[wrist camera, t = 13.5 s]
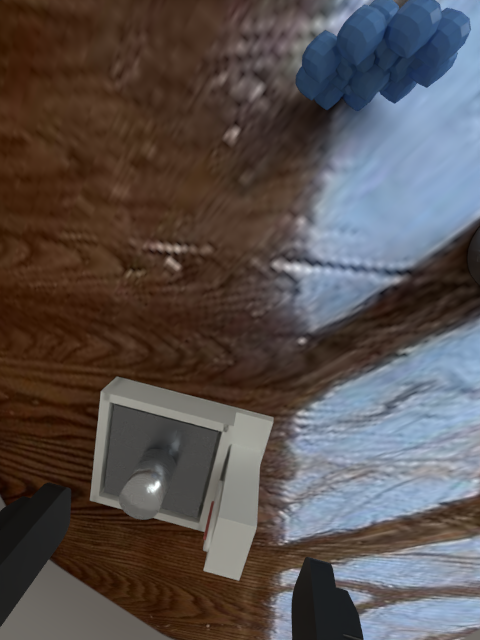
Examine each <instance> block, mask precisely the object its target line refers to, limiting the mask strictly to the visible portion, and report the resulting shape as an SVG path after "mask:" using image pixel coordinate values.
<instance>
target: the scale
mask: <svg viewBox="0 0 480 640" xmlns="http://www.w3.org/2000/svg"><path fill="white" fill-rule="evenodd" d="M114 404H119V405H123V406H127V407H130V408H134V409H138V410H142V411H146V412H149V413H153V414H157V415H161V416H165V417H168V418H172V419H176V420H180V421H184V422H187V423H191V424H195V425H199V426H203V427H206V428H210V429H214V430H218V435H217V439H216V443H215V447H214V451H213V455H212V459H211V463H210V467H209V471H208V475H207V479H206V483H205V487H204V491H203V495H202V499H201V504H200V508H199V512H198V515H197V518H196V517H192V516H189V515H185V514H181V513H178V512H174V511H170V510H167V509H163V508H160V509H159V512H158V513H157V515H156V516H154V517H153V518H156V519H160V520H163V521H167V522H170V523H174V524H178V525H181V526H185V527H189V528H192V529H196V530H200V531H203V532H205V533H204V538H203V540H205V541H204V546H203V551H207V556H206V561H205V566H204V571H207V572H210V573H214V574H217V575H221V576H224V577H228V578H232V579H235V580H239V579H240V576H241V573H242V570H243V567H244V564H245V561H246V558H247V555H248V552H249V549H250V546H251V543H252V540H253V537H254V534H255V531H256V528H257V512H258V491H259V471H260V463H261V460H262V457H263V454H264V451H265V447H266V444H267V441H268V438H269V434H270V431H271V428H272V425H273V417H271V416H267V415H263V414H259V413H255V412H251V411H248V410H244V409H240V408H236V407H232V406H228V405H225V404H221V403H217V402H213V401H209V400H205V399H201V398H198V397H194V396H190V395H186V394H182V393H178V392H175V391H171V390H167V389H163V388H159V387H155V386H152V385H148V384H144V383H140V382H136V381H132V380H129V379H125V378H121V377H116V378H115V379H114V380H113V381H112V382H110V383H109V384H108V385H107V386H106V387H105V388H104V389H103V390H102V391H101V396H100V406H99V416H98V425H97V435H96V445H95V455H94V465H93V475H92V485H91V494H90V501H94V502H98V503H101V504H105V505H109V506H112V507H116V508H119V509H122V508H121V506H120V504H119V496H115V495H112V494H108V493H104V486H105V478H106V469H107V461H108V453H109V444H110V436H111V427H112V419H113V410H114Z"/></svg>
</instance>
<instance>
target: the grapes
mask: <svg viewBox="0 0 480 640" xmlns="http://www.w3.org/2000/svg"><path fill="white" fill-rule="evenodd" d="M470 30H471V26H470V20H469V18H468V17H467V16H466V15H465V14H464V13H462V12H461V11H457V10H454V9H450V8H446V9H444V10H443V11H442V12H441V7H440V4H439V3H438V2H437V1H435V0H408V1H407V2H406V3H405V4H404V5H403V6H402V7H401V8H400V9H399V7H398V5H397V4H396V3H395V2H394V1H393V0H374V1H373V2H372V3H371V4H370V5H369V6H368V5H363V6H362V7H360V8H359V9H358V10H356V11H355V12H354V13H353V14H352V15H351V16H350V17H349V18H348V19H347V20H346V22H345V23H344V24H343V26H342V28H341V29H340V31H339V33H338V35H337V36H335V35H334V34H332V33H330V32H328V31H326V30H325V31H323V32H322V33H321V34H319V35H318V36H317V37H316V38H315V39H314V40H313V41H312V42H311V43H310V44H309V45H308V46H307V48H306V50H305V52H304V54H303V56H302V67H301V68H300V69H299V71H298V73H297V75H296V86H297V88H298V89H299V91H300V92H301V93H302V94H303V95H304V96H305V97H307V98H308V99H310V100H313V99H314V100H315V101H316V103H317V104H319V105H320V106H321V107H322V108H324V109H326V110H328V109H329V108H331V107H332V106H333V105H334V104H336V103H337V102H338V101H339V100H340V98H341V97H343V99H344V101H345V102H346V103H347V104H348V105H349V106H350V107H351V108H352V109H354V110H356V111H359V110H360V109H362V108H363V107H364V106H365V105H367V104H368V103H369V102H370V101H371V100H372V99H373V98H374V96H375V95H376V94H377V93H378V92H379V91H380V94H381V95H383V96H384V97H385V98H386V99H388V100H389V101H391V102H393V103H396V102H398V101H399V100H401V99H402V98H403V97H404V96H406V95H407V94H408V93H409V92H410V91H411V90H412V89H413V88H414V87H415V86H416V84H417V83H418V84H420V85H422V86H424V87H429V86H430V85H431V84H433V83H434V82H435V81H437V80H438V79H439V78H441V77H442V76H443V75H444V74H445V73H446V72H447V71H448V70H449V69H450V68H451V67H452V65H453V63H454V61H455V59H456V57H457V54H458V53H457V51H458V50H459V49H460V48H461V47H462V46H463V45H464V43H465V41H466V39H467V37H468V35H469V33H470Z"/></svg>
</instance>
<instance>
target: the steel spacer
mask: <svg viewBox="0 0 480 640" xmlns="http://www.w3.org/2000/svg"><path fill="white" fill-rule="evenodd" d="M175 469H176V463H175V460H174V459H173V457H172V456H171V455H170V454H169V453H168V452H166V451H164V450H161V449H150V450H148V451H146V452H145V453H144V454H143V455H142V457H141V458H140V460H139V462H138V464H137V465H136V467H135V469H134V471H133V472H132V474H131V476H130V478H129V479H128V481H127V483H126V485H125V486H124V488H123V490H122V492H121V493H120V496H119V504H120V506H121V508H122V509H123V511H124V512H125V513H127V514H128V515H130V516H131V517H134V518H136V519H150V518H153V517H154V516H156V515H157V513H158V512H159V509H160V507H161V504H162V502H163V499H164V497H165V494H166V492H167V489H168V487H169V484H170V482H171V479H172V477H173V474H174V472H175Z"/></svg>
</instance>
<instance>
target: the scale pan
mask: <svg viewBox="0 0 480 640" xmlns="http://www.w3.org/2000/svg"><path fill="white" fill-rule="evenodd" d="M217 435H218V430H214V429H210V428H206V427H203V426H199V425H195V424H191V423H187V422H184V421H180V420H176V419H172V418H168V417H165V416H161V415H157V414H153V413H149V412H146V411H142V410H138V409H134V408H130V407H127V406H123V405H119V404H114V410H113V419H112V427H111V436H110V444H109V453H108V461H107V469H106V478H105V486H104V493H108V494H112V495H115V496H120V493H121V492H122V490H123V488H124V486H125V485H126V483H127V481H128V479H129V478H130V476H131V474H132V472H133V471H134V469H135V467H136V465H137V464H138V462H139V460H140V458H141V457H142V455H143V454H144V453H145V452H146V451H148V450H150V449H161V450H164V451H166V452H168V453H169V454H170V455H171V456H172V457H173V459H174V460H175V463H176V469H175V472H174V474H173V477H172V479H171V482H170V484H169V487H168V489H167V492H166V494H165V497H164V499H163V502H162V504H161V507H160V508H163V509H167V510H170V511H174V512H178V513H181V514H185V515H189V516H192V517H196V518H197V515H198V512H199V508H200V504H201V499H202V495H203V491H204V487H205V483H206V479H207V475H208V471H209V467H210V463H211V459H212V455H213V451H214V447H215V443H216V439H217Z"/></svg>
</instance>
